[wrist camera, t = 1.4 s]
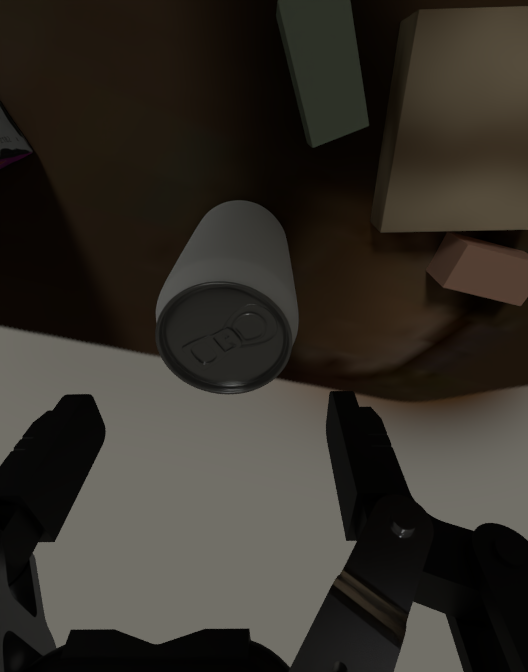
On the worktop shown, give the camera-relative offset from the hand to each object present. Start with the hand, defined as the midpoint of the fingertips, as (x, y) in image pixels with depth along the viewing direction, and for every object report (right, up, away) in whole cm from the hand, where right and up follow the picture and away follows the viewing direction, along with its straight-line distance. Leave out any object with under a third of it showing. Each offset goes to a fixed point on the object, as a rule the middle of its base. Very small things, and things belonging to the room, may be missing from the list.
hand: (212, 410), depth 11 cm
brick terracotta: (+17, +8, +13) cm, 23 cm away
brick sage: (+5, +17, +7) cm, 19 cm away
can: (0, +9, +12) cm, 15 cm away
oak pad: (+14, +15, +8) cm, 22 cm away
